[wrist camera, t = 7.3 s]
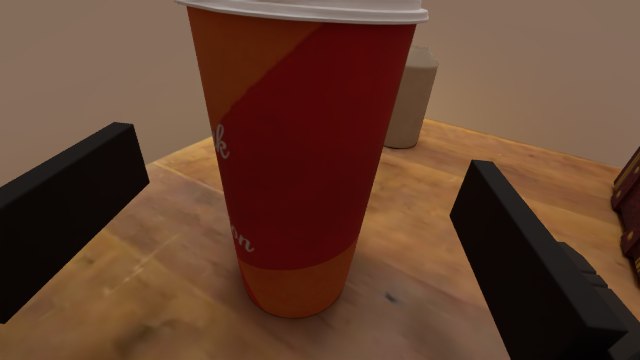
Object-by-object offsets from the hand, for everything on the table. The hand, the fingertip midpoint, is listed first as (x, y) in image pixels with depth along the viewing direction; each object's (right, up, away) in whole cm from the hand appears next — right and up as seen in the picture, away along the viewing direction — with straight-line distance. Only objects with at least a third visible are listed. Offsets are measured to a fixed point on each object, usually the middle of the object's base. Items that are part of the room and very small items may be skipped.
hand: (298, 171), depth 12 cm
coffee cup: (-1, -6, +6) cm, 8 cm away
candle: (+9, +4, +23) cm, 25 cm away
